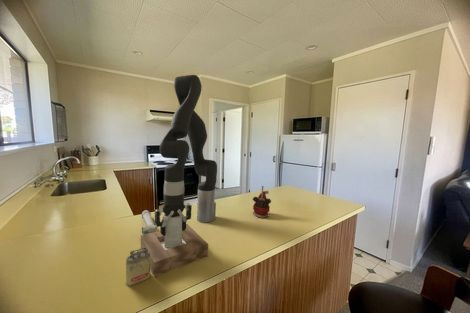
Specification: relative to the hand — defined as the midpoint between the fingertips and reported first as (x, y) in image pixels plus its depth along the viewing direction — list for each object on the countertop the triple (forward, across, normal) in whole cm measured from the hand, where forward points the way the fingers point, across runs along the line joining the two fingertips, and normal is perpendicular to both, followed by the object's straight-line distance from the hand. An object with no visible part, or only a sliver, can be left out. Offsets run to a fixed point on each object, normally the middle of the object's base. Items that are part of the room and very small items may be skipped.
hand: (173, 232), depth 77 cm
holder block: (+8, 0, 0) cm, 8 cm away
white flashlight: (+6, +6, -27) cm, 28 cm away
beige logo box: (+8, +14, +8) cm, 18 cm away
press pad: (+6, 0, 0) cm, 6 cm away
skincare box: (+5, 0, 0) cm, 5 cm away
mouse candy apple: (+8, -56, -8) cm, 57 cm away
